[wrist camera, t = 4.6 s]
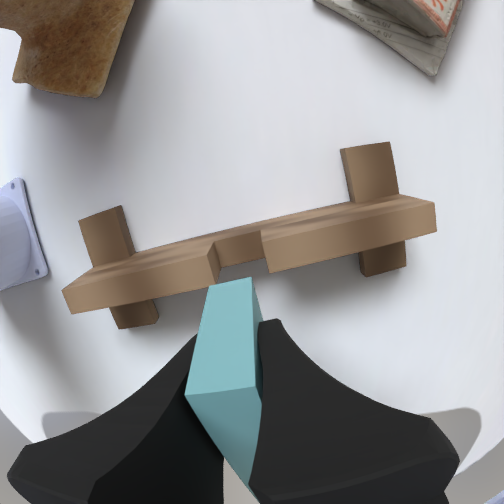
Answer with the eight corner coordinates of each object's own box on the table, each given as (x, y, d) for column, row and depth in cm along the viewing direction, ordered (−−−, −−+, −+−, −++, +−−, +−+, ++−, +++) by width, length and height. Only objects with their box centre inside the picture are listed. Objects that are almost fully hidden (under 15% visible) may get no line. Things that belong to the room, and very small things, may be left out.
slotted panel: (305, 474, 16) (314, 533, 11) (284, 478, 16) (290, 537, 11) (251, 276, 10) (255, 385, 5) (209, 285, 10) (184, 395, 5)
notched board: (123, 322, 20) (95, 361, 15) (85, 217, 18) (41, 234, 13) (399, 261, 18) (437, 289, 14) (383, 142, 16) (424, 136, 11)
